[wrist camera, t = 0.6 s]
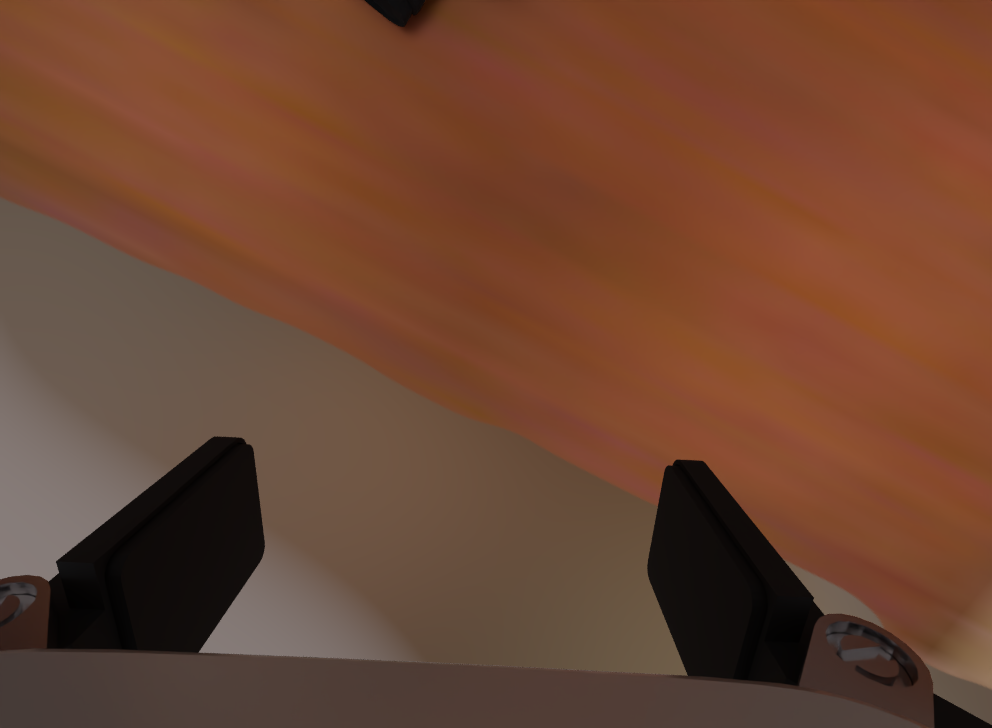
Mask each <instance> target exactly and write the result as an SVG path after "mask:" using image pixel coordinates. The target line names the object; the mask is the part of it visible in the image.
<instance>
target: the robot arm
mask: <svg viewBox="0 0 992 728" xmlns="http://www.w3.org/2000/svg"><path fill="white" fill-rule="evenodd" d="M264 548H265V541H264V534H263V525H262V517H261V508H260V501H259V492H258V484H257V475H256V467H255V459H254V451H253V448H252V446H251V445H248V444H246V442H245V440H244V439H242V438H236V437H213V438H211V439H210V440H208V441H207V442H206V443H205V444H204V445H202V446H201V447H200V448H198V449H197V450H196V451H195V452H193V453H192V454H191V455H190V456H188V457H187V458H186V459H185V460H183V461H182V462H181V463H179V464H178V465H177V466H176V467H174V468H173V469H172V470H171V471H169V472H168V473H167V474H166V475H164V476H163V477H162V478H161V479H159V480H158V481H157V482H155V483H154V484H153V485H152V486H150V487H149V488H148V489H147V490H146V491H144V492H143V493H142V494H141V495H139V496H138V497H137V498H135V499H134V500H133V501H132V502H130V503H129V504H128V505H127V506H125V507H124V508H123V509H122V510H120V511H119V512H118V513H116V514H115V515H114V516H113V517H111V518H110V519H109V520H108V521H106V522H105V523H104V524H103V525H101V526H100V527H99V528H98V529H96V530H95V531H94V532H93V533H91V534H90V535H89V536H88V537H86V538H85V539H84V540H83V541H81V542H80V543H79V544H78V545H76V546H75V547H74V548H72V549H71V550H70V551H69V552H67V554H65V555H64V556H62V557H61V558H60V559H58V560H57V561H56V563H57V567H58V570H59V574H57V575H56V576H55V577H54V578H52V580H50V581H49V582H48V581H47V580H45V579H44V578H42V577H40V576H31V575H23V576H13V577H8V578H4V579H0V728H992V725H990V724H989V723H987V722H985V721H983V720H981V719H979V718H978V717H976V716H974V715H972V714H970V713H968V712H967V711H965V710H963V709H961V708H959V707H957V706H956V705H954V704H952V703H950V702H948V701H947V700H945V699H943V698H941V697H939V696H937V695H935V694H934V693H933V682H932V679H931V675H930V672H929V670H928V668H927V667H926V665H925V664H924V662H923V661H922V660H921V658H920V657H919V656H918V655H917V654H916V653H915V652H914V651H913V650H912V649H911V648H910V647H909V646H908V645H907V644H905V643H904V642H903V641H901V640H900V639H899V638H897V637H896V636H894V635H893V634H892V633H890V632H888V631H887V630H885V629H883V628H881V627H879V626H877V625H875V624H874V623H871V622H869V621H866V620H863V619H861V618H858V617H855V616H850V615H845V614H827V615H824V614H823V613H822V612H821V610H820V609H819V608H818V607H817V605H816V604H815V603H814V602H813V599H814V597H813V596H812V595H811V594H810V592H809V591H808V590H807V589H806V587H805V586H804V585H803V584H802V582H801V581H800V580H799V579H798V578H797V576H796V575H795V574H794V572H793V571H792V570H791V569H790V568H789V566H788V565H787V564H786V563H785V561H784V560H783V559H782V558H781V556H780V555H779V554H778V553H777V551H776V550H775V549H774V548H773V546H772V545H771V544H770V543H769V541H768V540H767V539H766V538H765V537H764V535H763V534H762V533H761V532H760V530H759V529H758V528H757V527H756V525H755V524H754V523H753V522H752V520H751V519H750V518H749V517H748V515H747V514H746V513H745V512H744V511H743V509H742V508H741V507H740V506H739V504H738V503H737V502H736V501H735V499H734V498H733V497H732V496H731V494H730V493H729V492H728V491H727V489H726V488H725V487H724V486H723V485H722V483H721V482H720V481H719V480H718V478H717V477H716V476H715V475H714V473H713V472H712V471H711V470H710V468H709V467H708V466H707V465H706V463H704V462H703V461H695V460H676V461H675V462H674V463H673V466H667V467H666V469H665V472H664V477H663V482H662V488H661V493H660V498H659V504H658V509H657V515H656V520H655V525H654V531H653V536H652V542H651V547H650V552H649V558H648V565H647V566H648V568H647V569H648V577H649V580H650V583H651V585H652V587H653V590H654V593H655V595H656V598H657V600H658V602H659V605H660V607H661V610H662V613H663V615H664V617H665V620H666V622H667V625H668V628H669V630H670V633H671V635H672V637H673V639H674V642H675V645H676V647H677V650H678V652H679V655H680V657H681V660H682V662H683V664H684V667H685V670H686V672H687V675H688V676H682V675H664V674H663V675H662V674H645V673H625V672H606V671H588V670H568V669H550V668H530V667H512V666H493V665H472V664H470V665H469V664H450V663H429V662H408V661H384V660H364V659H363V660H362V659H342V658H340V659H339V658H318V657H293V656H269V655H243V654H218V653H198V652H199V651H200V649H201V648H202V646H203V645H204V643H205V642H206V641H207V639H208V638H209V636H210V635H211V633H212V632H213V630H214V629H215V627H216V626H217V624H218V623H219V622H220V620H221V618H222V617H223V615H224V614H225V613H226V611H227V610H228V608H229V607H230V605H231V604H232V602H233V601H234V599H235V598H236V596H237V595H238V594H239V592H240V591H241V589H242V588H243V586H244V585H245V583H246V582H247V580H248V579H249V577H250V576H251V574H252V573H253V571H254V570H255V569H256V567H257V566H258V564H259V563H260V561H261V559H262V557H263V553H264Z"/></svg>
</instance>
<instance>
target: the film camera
mask: <svg viewBox="0 0 992 728" xmlns="http://www.w3.org/2000/svg"><path fill="white" fill-rule="evenodd" d="M365 1H366V2H367V3H369V4H370V5H371V6H372V7H373V8H374V9H376V10H377V11H378V12H379V13H381V14H382V15H383V16H384V17H386V18H387V19H388V20H389V21H391V22H393V23H394V24H396V25H398V26H401V27H405V25H406V23H407V22H408V20H409V18H410V16H411V14H413V15H416V14H417V13H418V12H419V11H420V9H421V7H422V6H423V4H424V2H425V0H365Z"/></svg>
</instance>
